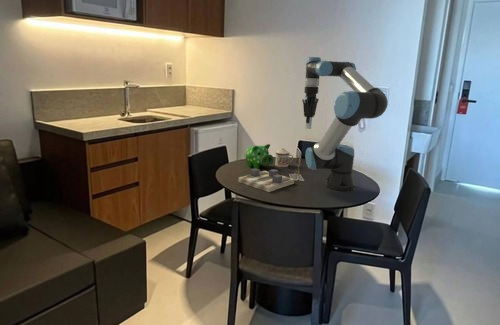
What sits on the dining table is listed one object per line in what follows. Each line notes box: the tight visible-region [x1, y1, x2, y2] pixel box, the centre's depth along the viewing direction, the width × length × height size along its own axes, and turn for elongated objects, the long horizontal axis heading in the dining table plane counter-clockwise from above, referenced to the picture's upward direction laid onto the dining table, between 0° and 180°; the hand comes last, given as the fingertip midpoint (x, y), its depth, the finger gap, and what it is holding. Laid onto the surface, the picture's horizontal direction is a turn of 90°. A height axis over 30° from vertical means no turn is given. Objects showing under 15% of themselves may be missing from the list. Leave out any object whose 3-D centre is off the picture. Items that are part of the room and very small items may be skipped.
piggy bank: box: [244, 143, 274, 169], centre depth 234 cm, size 14×18×15 cm
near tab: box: [272, 174, 283, 183], centre depth 198 cm, size 4×4×3 cm
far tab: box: [249, 167, 261, 176], centre depth 208 cm, size 4×4×3 cm
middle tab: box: [268, 169, 279, 177], centre depth 208 cm, size 4×4×3 cm
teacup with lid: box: [274, 147, 294, 168], centre depth 240 cm, size 12×9×12 cm
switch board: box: [237, 170, 295, 193], centre depth 205 cm, size 22×22×3 cm
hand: (308, 128), depth 209 cm, fingers closed
